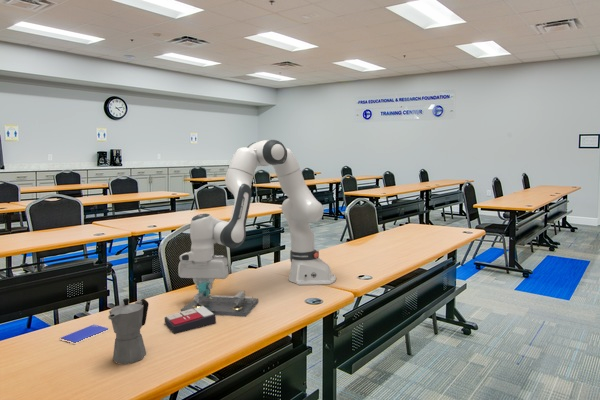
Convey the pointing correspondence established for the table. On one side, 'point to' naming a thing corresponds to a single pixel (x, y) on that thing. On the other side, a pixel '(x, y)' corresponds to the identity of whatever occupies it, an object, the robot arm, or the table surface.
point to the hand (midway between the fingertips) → (204, 288)
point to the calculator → (190, 319)
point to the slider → (202, 291)
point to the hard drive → (84, 333)
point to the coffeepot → (129, 331)
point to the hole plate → (225, 304)
